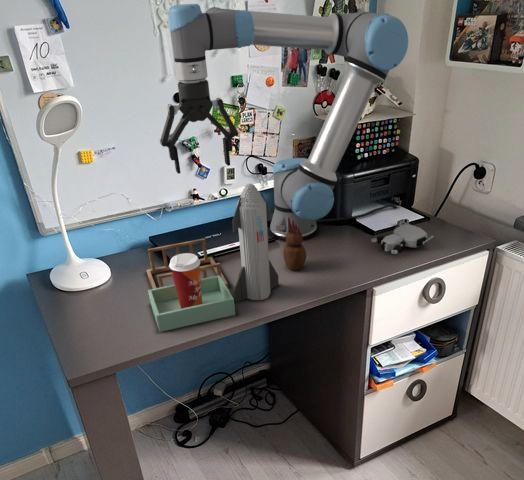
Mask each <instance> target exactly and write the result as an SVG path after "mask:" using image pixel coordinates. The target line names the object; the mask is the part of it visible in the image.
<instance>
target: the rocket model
mask: <svg viewBox="0 0 524 480" xmlns="http://www.w3.org/2000/svg"><path fill="white" fill-rule="evenodd" d="M237 200H238V201H237V203H236V208H235V212H234V214H233V218H232V220H231V222H232V233H233V234H234V233H236V232H238V240H239V241H238V242H239V251H240V261H241V262H240V263H241V267H240V271H239V273H238V277H237V281H236V285H235V286H234V290H233V295H234V296H233V298H234V303H237V302H240V301H243V300H246V299H249V300H251V301H263V300H267V299H268V298H269V296H270V295H271V290H272V289H274V288H276V287H278V286H279V274H278V272H277V270H276V269H275V267H274V266H273V264H272V262H271V260H270V254H269V236H268V222H271V221H272V208H271V207H270V205H269V203H268V201H267V199H266V198H265V196H264V194H263V192H262V191H259V189H258V188H257V187H256V185H254V184H253V183H247V184H246V185H244V188H243V189H242V191H241V194H240V197H239V198H238V199H237Z"/></svg>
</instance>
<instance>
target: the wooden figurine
mask: <svg viewBox="0 0 524 480" xmlns="http://www.w3.org/2000/svg"><path fill="white" fill-rule="evenodd" d="M303 241H304V239H303V237H302V233H301V232H300V230H299V228H297V225H295V226H294V220H292V226H291V222H290V219H289V217H288V233H287V234H286V240H285V242H286V243H285V245H284V247H283V251H282V256H283V261H284V263H285V266H286V268H287V269H288V270H290V271H301V269H303V268H304V266H305V263H306V262H307V251H306V248H305V247H304V245H303V244H302V243H303Z"/></svg>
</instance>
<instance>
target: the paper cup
mask: <svg viewBox="0 0 524 480" xmlns="http://www.w3.org/2000/svg"><path fill="white" fill-rule="evenodd" d="M200 265H201V264H200V260H199V257H198V255H196V254H195V253H194V254H191V253H190V252H185V253H180V254H178V255H177V254H175V255H174V256H172V257H171V258H170V261H169V263H168V266H169V267H170V269H171V270H170V271H171V272H172V274H173V276H172V279H173V283H175V287H176V291H177V295H178V299H179V303H180V307H181V309H183V308H187V307H192V306H196V305H201V304H202V292H201V279H202V278H201V270H200V267H201V266H200Z"/></svg>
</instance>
